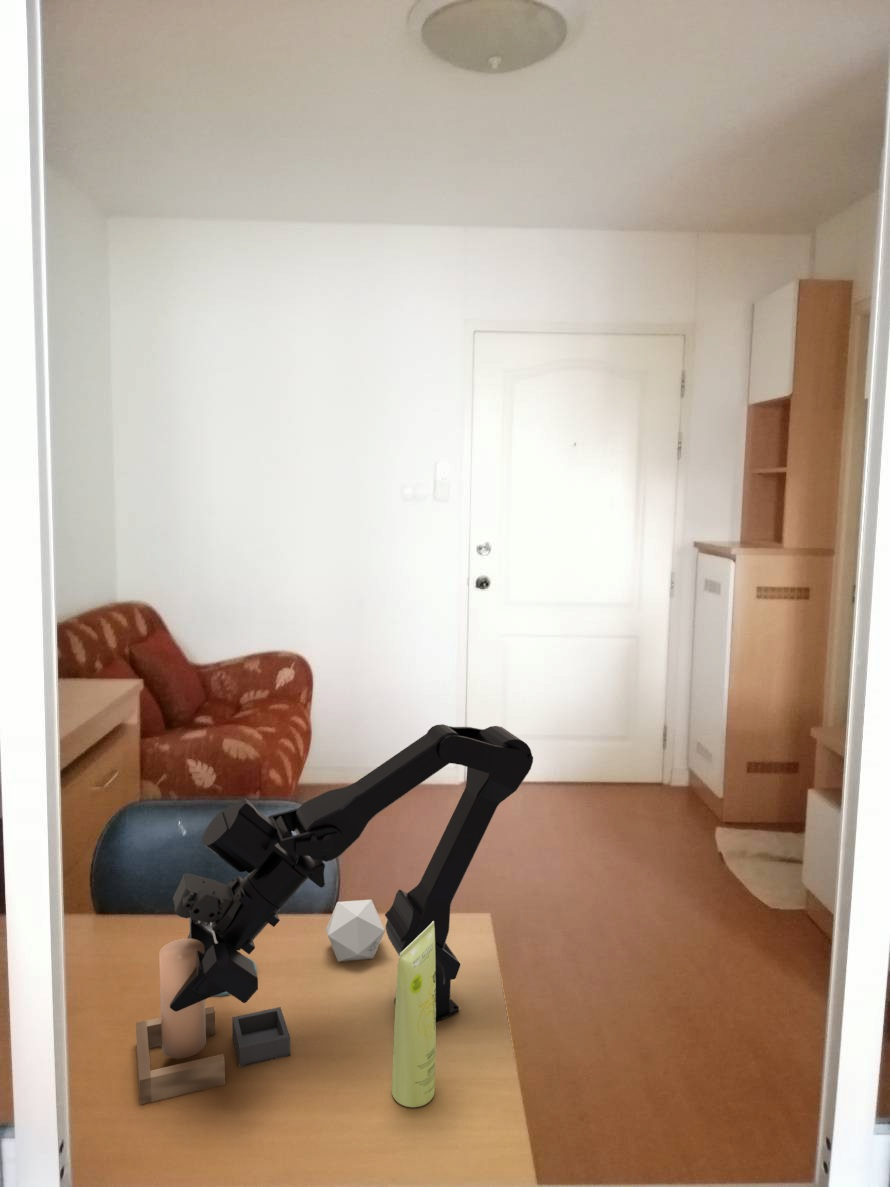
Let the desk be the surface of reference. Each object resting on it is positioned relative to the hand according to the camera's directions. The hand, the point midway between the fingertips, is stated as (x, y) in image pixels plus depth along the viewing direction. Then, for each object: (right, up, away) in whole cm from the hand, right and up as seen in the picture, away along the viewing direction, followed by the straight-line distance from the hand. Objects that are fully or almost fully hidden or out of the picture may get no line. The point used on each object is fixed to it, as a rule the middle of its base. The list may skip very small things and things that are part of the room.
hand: (170, 995), depth 98 cm
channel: (+1, -9, +2) cm, 9 cm away
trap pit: (+9, -9, +5) cm, 14 cm away
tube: (+28, -11, -2) cm, 30 cm away
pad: (+1, -6, +19) cm, 20 cm away
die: (+19, -6, +25) cm, 32 cm away
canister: (+1, -6, +2) cm, 7 cm away
